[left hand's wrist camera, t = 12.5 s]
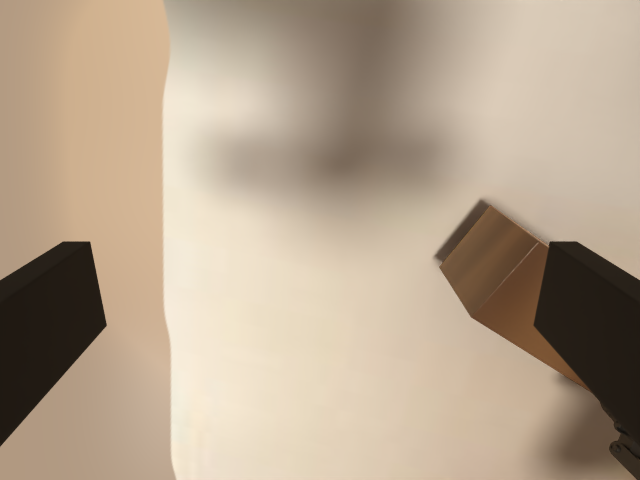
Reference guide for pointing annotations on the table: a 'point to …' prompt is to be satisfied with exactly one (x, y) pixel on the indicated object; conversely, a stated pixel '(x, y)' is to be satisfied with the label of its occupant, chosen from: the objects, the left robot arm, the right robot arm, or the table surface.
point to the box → (504, 283)
